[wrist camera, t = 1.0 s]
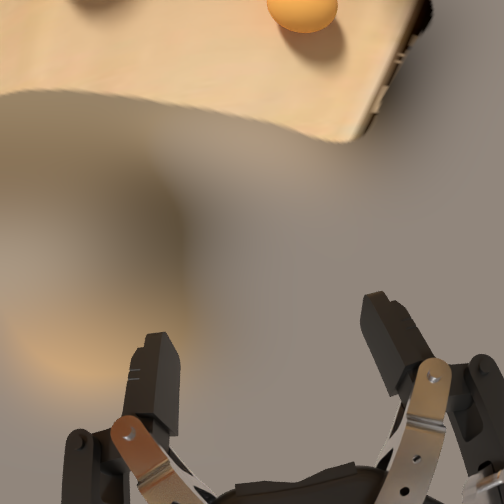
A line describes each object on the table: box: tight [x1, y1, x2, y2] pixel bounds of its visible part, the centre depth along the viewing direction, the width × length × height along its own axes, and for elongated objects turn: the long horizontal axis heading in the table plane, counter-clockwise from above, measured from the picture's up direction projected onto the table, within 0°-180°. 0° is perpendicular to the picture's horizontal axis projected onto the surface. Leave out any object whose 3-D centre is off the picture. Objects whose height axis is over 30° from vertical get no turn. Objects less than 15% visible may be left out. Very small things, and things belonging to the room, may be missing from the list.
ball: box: [267, 0, 338, 33], centre depth 16 cm, size 6×6×6 cm
